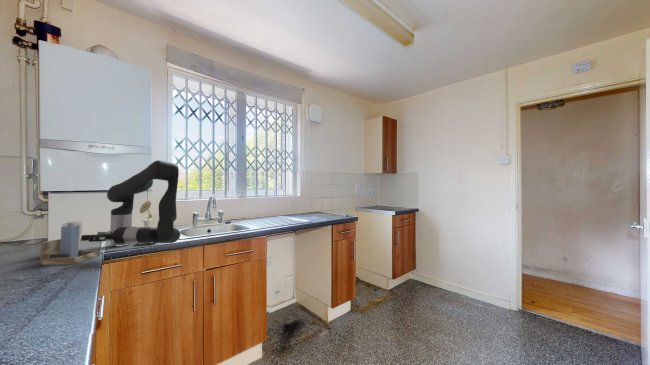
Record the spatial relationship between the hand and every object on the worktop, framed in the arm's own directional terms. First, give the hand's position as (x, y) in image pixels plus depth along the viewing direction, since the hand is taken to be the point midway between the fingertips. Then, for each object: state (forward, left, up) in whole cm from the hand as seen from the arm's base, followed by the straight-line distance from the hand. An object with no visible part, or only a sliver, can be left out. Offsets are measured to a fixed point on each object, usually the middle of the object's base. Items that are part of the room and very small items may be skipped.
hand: (90, 236), depth 111 cm
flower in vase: (-34, +5, -11) cm, 36 cm away
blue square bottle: (0, -8, -9) cm, 13 cm away
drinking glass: (-15, -19, -11) cm, 27 cm away
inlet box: (0, -7, -10) cm, 13 cm away
